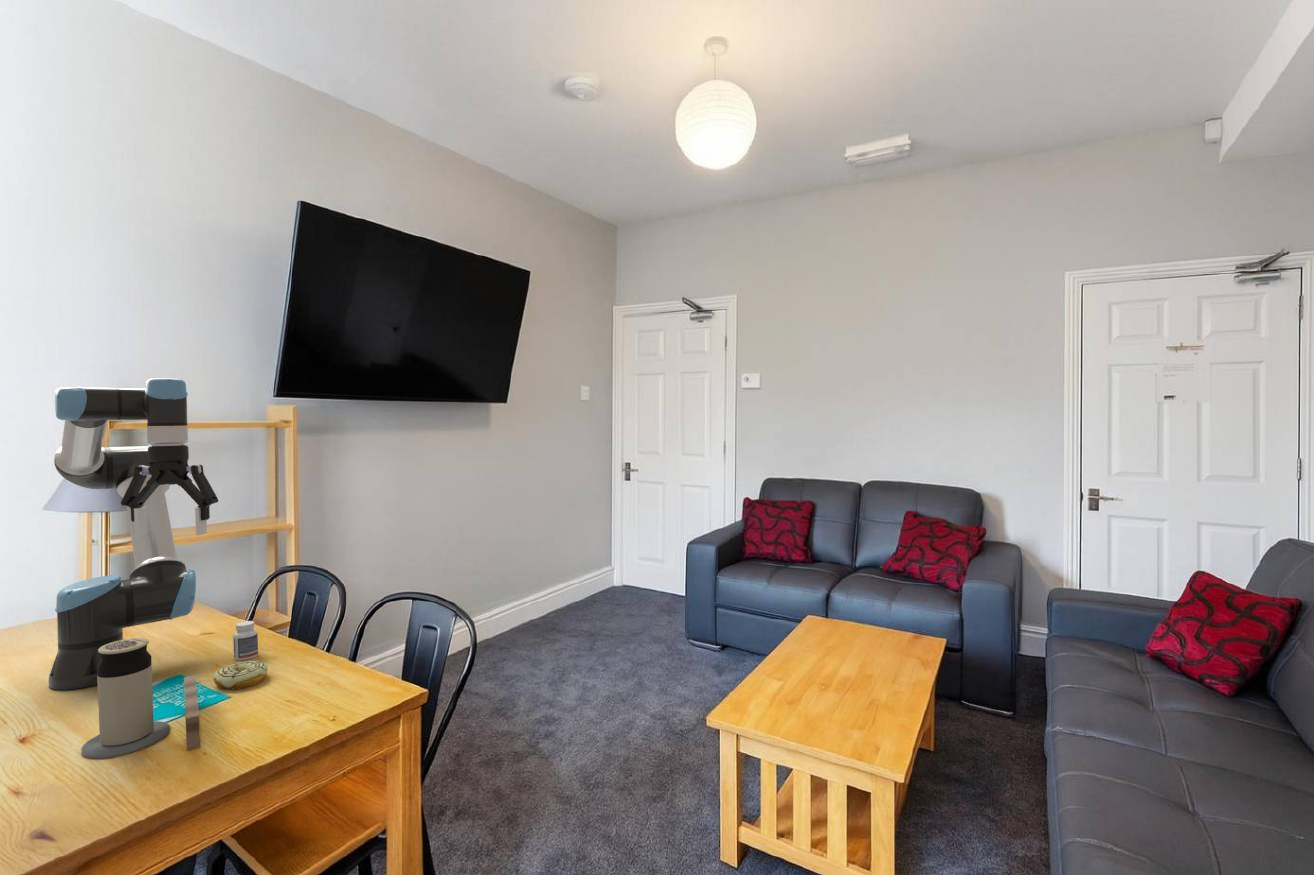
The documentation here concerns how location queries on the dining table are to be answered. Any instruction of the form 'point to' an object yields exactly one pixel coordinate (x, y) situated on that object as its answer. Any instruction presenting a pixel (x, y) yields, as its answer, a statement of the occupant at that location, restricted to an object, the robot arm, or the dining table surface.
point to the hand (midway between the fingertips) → (171, 534)
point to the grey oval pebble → (100, 751)
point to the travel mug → (125, 692)
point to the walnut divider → (191, 713)
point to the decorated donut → (240, 675)
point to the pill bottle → (245, 641)
